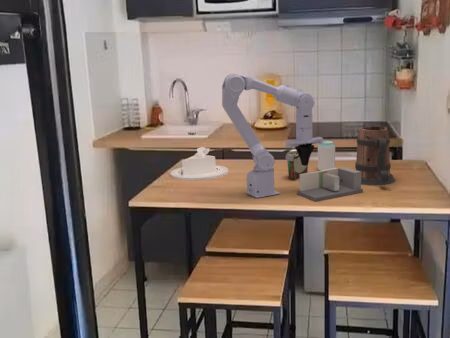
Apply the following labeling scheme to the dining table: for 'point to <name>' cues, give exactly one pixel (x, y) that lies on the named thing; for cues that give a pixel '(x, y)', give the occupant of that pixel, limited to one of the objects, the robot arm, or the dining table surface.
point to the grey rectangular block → (330, 181)
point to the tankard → (374, 156)
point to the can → (326, 155)
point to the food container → (295, 165)
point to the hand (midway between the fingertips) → (304, 165)
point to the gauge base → (316, 192)
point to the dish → (199, 167)
